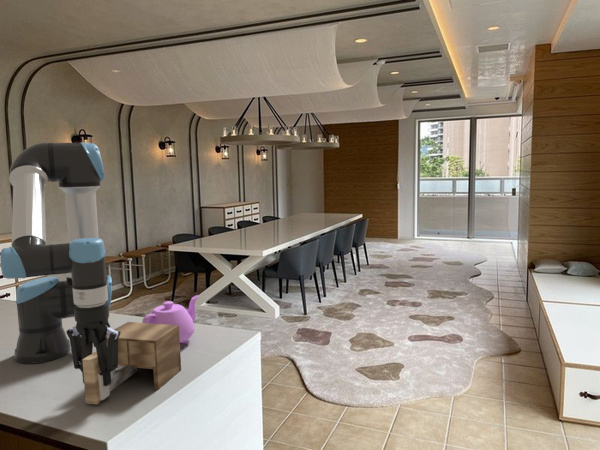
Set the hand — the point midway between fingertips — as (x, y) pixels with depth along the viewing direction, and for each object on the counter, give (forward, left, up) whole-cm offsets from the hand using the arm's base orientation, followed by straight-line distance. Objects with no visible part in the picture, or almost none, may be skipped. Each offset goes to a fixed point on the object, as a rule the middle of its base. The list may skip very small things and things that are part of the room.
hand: (98, 396), depth 114 cm
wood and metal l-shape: (0, +6, -1) cm, 6 cm away
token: (-3, +13, -1) cm, 13 cm away
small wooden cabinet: (+3, +15, -1) cm, 15 cm away
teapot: (-2, +40, -2) cm, 40 cm away
